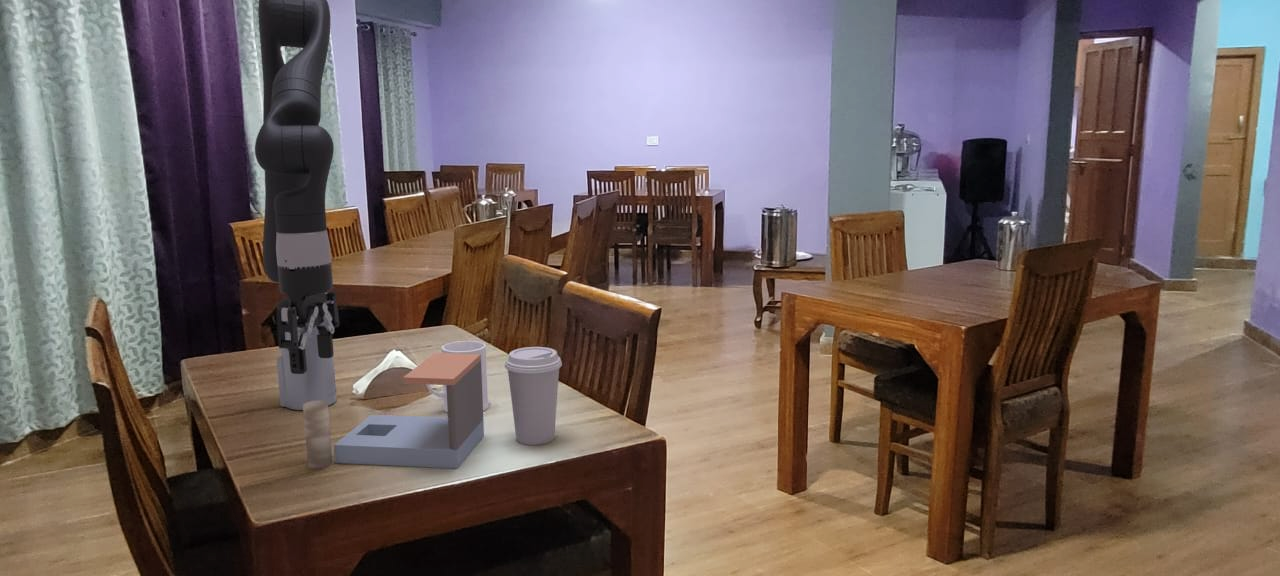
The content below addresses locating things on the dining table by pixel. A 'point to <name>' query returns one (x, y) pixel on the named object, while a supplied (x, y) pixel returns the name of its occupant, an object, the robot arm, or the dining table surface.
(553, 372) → the coffee cup
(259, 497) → the dining table surface
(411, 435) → the socket board
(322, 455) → the peg
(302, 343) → the robot arm
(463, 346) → the mug
